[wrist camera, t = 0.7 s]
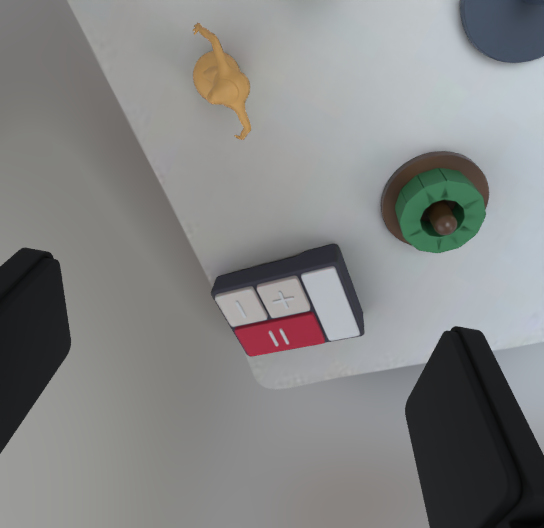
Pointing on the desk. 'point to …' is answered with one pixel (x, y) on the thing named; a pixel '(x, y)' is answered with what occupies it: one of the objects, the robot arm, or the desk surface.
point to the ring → (431, 190)
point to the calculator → (291, 302)
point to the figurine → (222, 80)
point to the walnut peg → (439, 210)
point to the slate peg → (505, 28)
